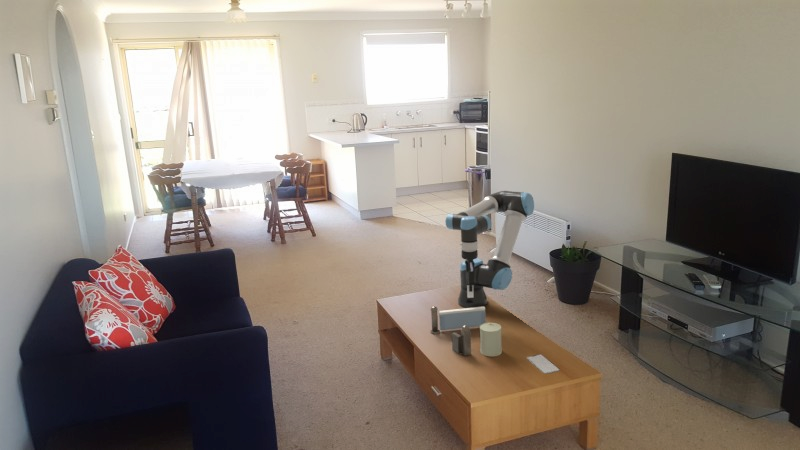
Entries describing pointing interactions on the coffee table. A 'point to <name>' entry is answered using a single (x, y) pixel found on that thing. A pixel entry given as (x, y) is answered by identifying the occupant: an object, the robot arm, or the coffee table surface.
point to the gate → (462, 318)
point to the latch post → (462, 341)
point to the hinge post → (434, 321)
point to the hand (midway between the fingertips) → (470, 297)
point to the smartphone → (542, 364)
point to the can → (490, 339)
